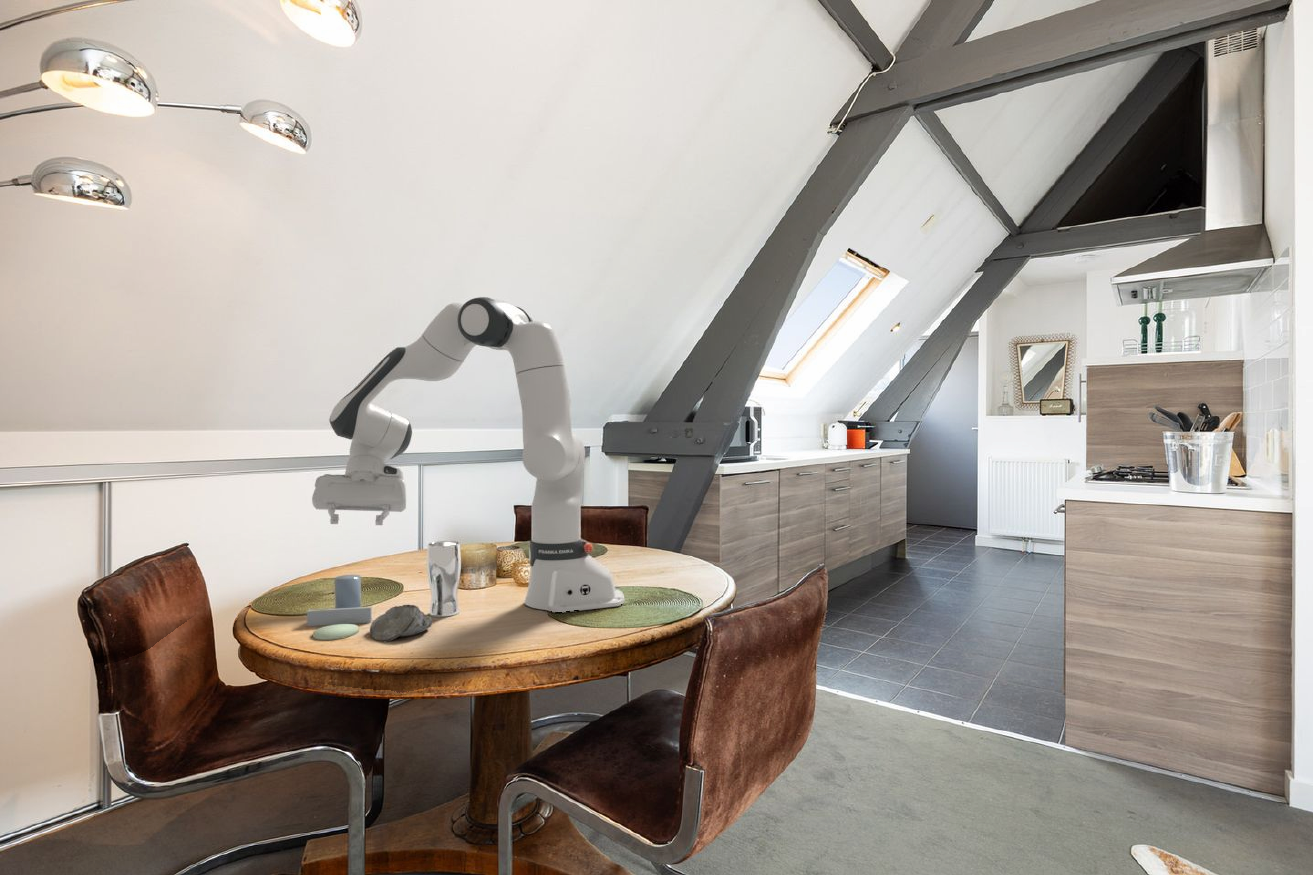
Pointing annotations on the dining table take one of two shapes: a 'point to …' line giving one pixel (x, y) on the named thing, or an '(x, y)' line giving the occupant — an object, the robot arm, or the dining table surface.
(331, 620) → the wall
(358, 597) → the blue-grey cylinder
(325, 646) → the dining table surface
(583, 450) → the robot arm
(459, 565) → the beer glass
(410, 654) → the dining table surface
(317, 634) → the coaster
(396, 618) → the fossilized seashell
